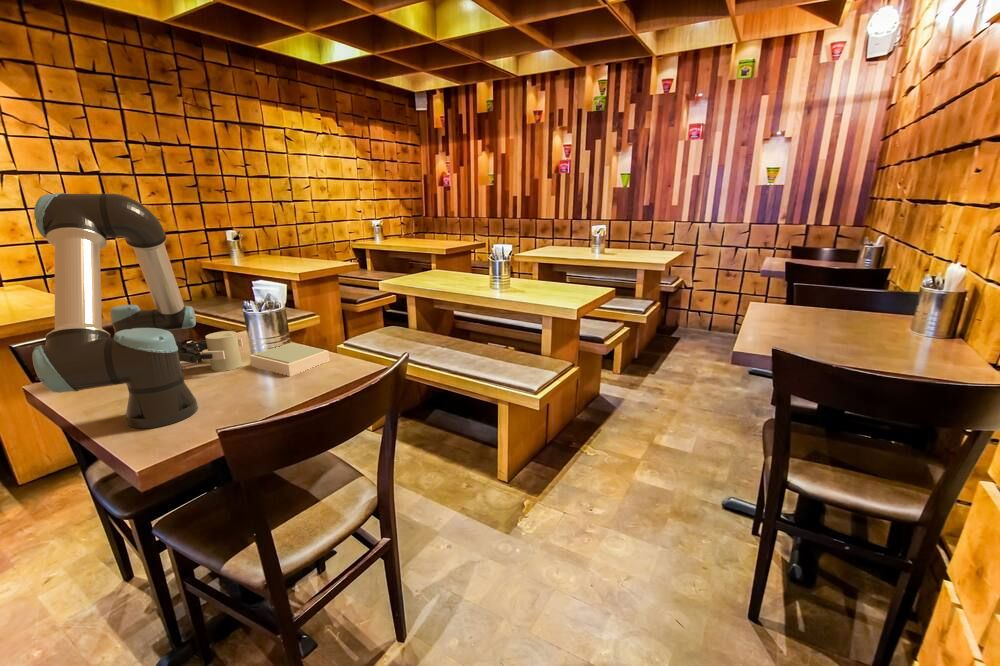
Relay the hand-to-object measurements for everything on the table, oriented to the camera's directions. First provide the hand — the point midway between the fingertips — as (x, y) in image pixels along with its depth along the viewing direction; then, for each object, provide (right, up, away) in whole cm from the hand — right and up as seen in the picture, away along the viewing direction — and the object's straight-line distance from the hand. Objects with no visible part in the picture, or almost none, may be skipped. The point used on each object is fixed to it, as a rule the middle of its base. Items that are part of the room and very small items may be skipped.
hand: (233, 348), depth 152 cm
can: (-3, -7, +2) cm, 7 cm away
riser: (+18, -6, +4) cm, 19 cm away
